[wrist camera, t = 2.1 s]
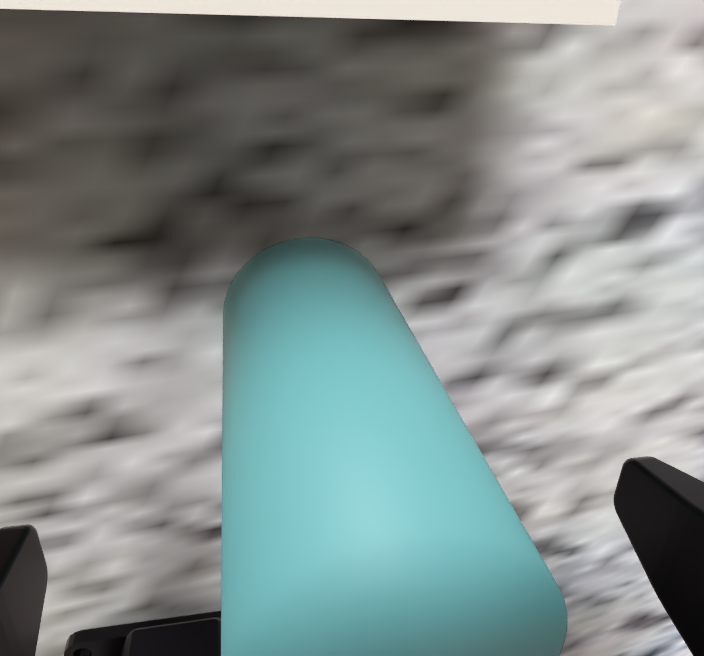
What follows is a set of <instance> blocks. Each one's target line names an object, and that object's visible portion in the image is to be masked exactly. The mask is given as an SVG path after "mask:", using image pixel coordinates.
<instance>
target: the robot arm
mask: <svg viewBox="0 0 704 656" xmlns="http://www.w3.org/2000/svg"><path fill="white" fill-rule="evenodd" d="M614 506H615V510H616V513H617V515H618V517H619V519H620V521H621V523H622V525H623V527H624V529H625V531H626V533H627V535H628V537H629V540H630V542H631V544H632V546H633V548H634V550H635V552H636V554H637V556H638V558H639V560H640V562H641V564H642V566H643V568H644V570H645V572H646V574H647V577H648V579H649V581H650V583H651V585H652V587H653V588H654V590H655V592H656V594H657V596H658V598H659V600H660V601H661V603H662V605H663V607H664V608H665V610H666V612H667V613H668V615H669V617H670V618H671V620H672V622H673V623H674V625H675V627H676V628H677V630H678V631H679V633H680V635H681V636H682V638H683V640H684V641H685V643H686V645H687V646H688V648H689V650H690V651H691V653H692V654H693V656H704V482H702V481H700V480H698V479H696V478H694V477H692V476H690V475H688V474H686V473H684V472H682V471H680V470H678V469H676V468H674V467H672V466H670V465H668V464H666V463H664V462H662V461H660V460H658V459H656V458H654V457H638V458H630V459H628V460H626V461H625V463H624V464H623V466H622V470H621V473H620V477H619V480H618V484H617V487H616V490H615V494H614ZM47 577H48V575H47V565H46V562H45V558H44V555H43V551H42V548H41V544H40V541H39V537H38V534H37V531H36V529H35V528H34V526H32V525H19V526H10V527H4V528H1V529H0V656H35V652H36V646H37V640H38V634H39V628H40V622H41V616H42V610H43V604H44V598H45V593H46V587H47ZM64 656H221V611H219V612H212V613H204V614H197V615H190V616H183V617H176V618H168V619H161V620H154V621H147V622H140V623H133V624H125V625H118V626H111V627H104V628H97V629H89V630H82V631H79V632H75V633H74V634H72V635H70V637H69V638H68V640H67V644H66V648H65V652H64Z"/></svg>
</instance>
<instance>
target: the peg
mask: <svg viewBox="0 0 704 656" xmlns="http://www.w3.org/2000/svg"><path fill="white" fill-rule="evenodd" d="M566 631H567V611H566V606H565V600H564V598H563V596H562V594H561V591H560V589H559V587H558V585H557V583H556V582H555V580H554V578H553V577H552V575H551V573H550V571H549V570H548V568H547V566H546V564H545V563H544V561H543V559H542V557H541V556H540V554H539V552H538V550H537V549H536V547H535V545H534V543H533V542H532V540H531V538H530V537H529V535H528V533H527V531H526V530H525V528H524V526H523V524H522V523H521V521H520V519H519V517H518V516H517V514H516V512H515V510H514V509H513V507H512V505H511V503H510V502H509V500H508V498H507V496H506V495H505V493H504V491H503V490H502V488H501V486H500V484H499V483H498V481H497V479H496V477H495V476H494V474H493V472H492V470H491V469H490V467H489V465H488V463H487V462H486V460H485V458H484V456H483V455H482V453H481V451H480V450H479V448H478V446H477V444H476V443H475V441H474V439H473V437H472V436H471V434H470V432H469V430H468V429H467V427H466V425H465V423H464V422H463V420H462V418H461V416H460V415H459V413H458V411H457V410H456V408H455V406H454V404H453V403H452V401H451V399H450V397H449V396H448V394H447V392H446V390H445V389H444V387H443V385H442V383H441V382H440V380H439V378H438V376H437V375H436V373H435V371H434V369H433V368H432V366H431V364H430V363H429V361H428V359H427V357H426V356H425V354H424V352H423V350H422V349H421V347H420V345H419V343H418V342H417V340H416V338H415V336H414V335H413V333H412V331H411V329H410V328H409V326H408V324H407V323H406V321H405V319H404V317H403V316H402V314H401V312H400V310H399V309H398V307H397V305H396V303H395V302H394V300H393V298H392V296H391V295H390V293H389V291H388V289H387V288H386V286H385V284H384V283H383V281H382V279H381V277H380V276H379V274H378V273H377V271H376V270H375V268H374V267H373V266H372V264H371V263H370V262H369V261H368V260H367V259H366V258H365V257H363V256H362V255H361V254H360V253H358V252H357V251H355V250H354V249H352V248H350V247H348V246H346V245H344V244H341V243H339V242H335V241H332V240H328V239H321V238H299V239H292V240H288V241H284V242H281V243H278V244H275V245H273V246H271V247H269V248H267V249H265V250H263V251H261V252H260V253H259V254H257V255H256V256H254V257H253V258H252V259H251V260H250V261H248V262H247V263H246V264H245V265H244V266H243V267H242V269H241V270H240V271H239V272H238V273H237V275H236V277H235V278H234V280H233V281H232V283H231V285H230V287H229V290H228V292H227V295H226V298H225V302H224V309H223V410H222V565H221V656H559V655H560V652H561V650H562V647H563V644H564V641H565V636H566Z"/></svg>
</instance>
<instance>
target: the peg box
mask: <svg viewBox="0 0 704 656" xmlns="http://www.w3.org/2000/svg"><path fill="white" fill-rule="evenodd" d="M620 1H621V0H0V9H30V10H66V11H103V12H140V13H176V14H213V15H250V16H286V17H323V18H360V19H396V20H433V21H470V22H506V23H543V24H580V25H616V21H617V16H618V11H619V6H620Z"/></svg>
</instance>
